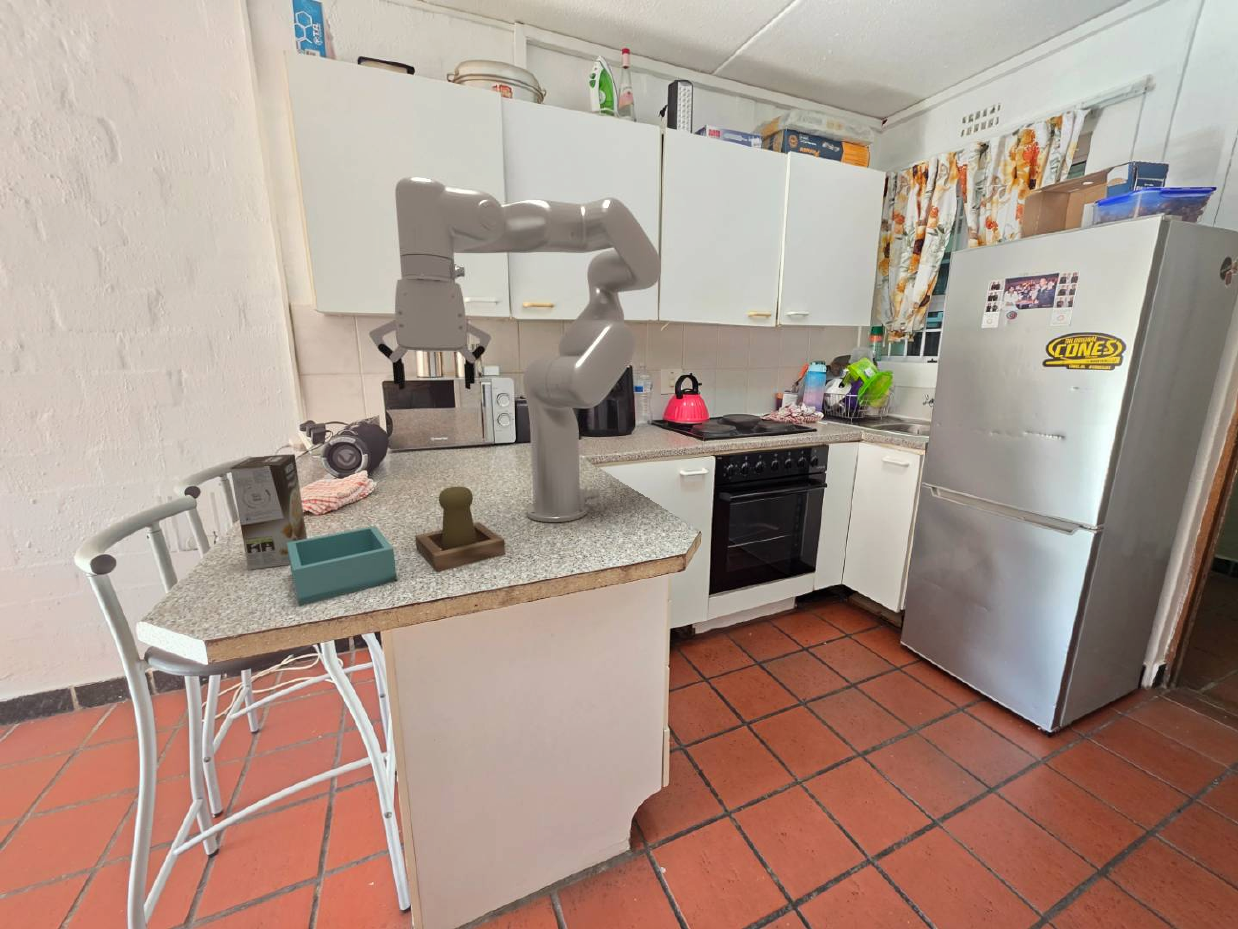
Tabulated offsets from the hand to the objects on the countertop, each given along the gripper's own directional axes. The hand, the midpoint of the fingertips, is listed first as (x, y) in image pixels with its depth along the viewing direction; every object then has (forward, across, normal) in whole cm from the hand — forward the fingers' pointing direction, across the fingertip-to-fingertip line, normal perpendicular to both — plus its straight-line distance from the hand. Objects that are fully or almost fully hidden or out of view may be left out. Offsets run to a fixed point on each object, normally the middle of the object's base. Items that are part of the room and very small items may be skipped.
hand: (435, 388), depth 76 cm
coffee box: (+27, +26, -6) cm, 38 cm away
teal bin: (+27, +14, +6) cm, 31 cm away
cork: (+27, -2, +2) cm, 27 cm away
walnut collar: (+27, -2, +2) cm, 27 cm away
